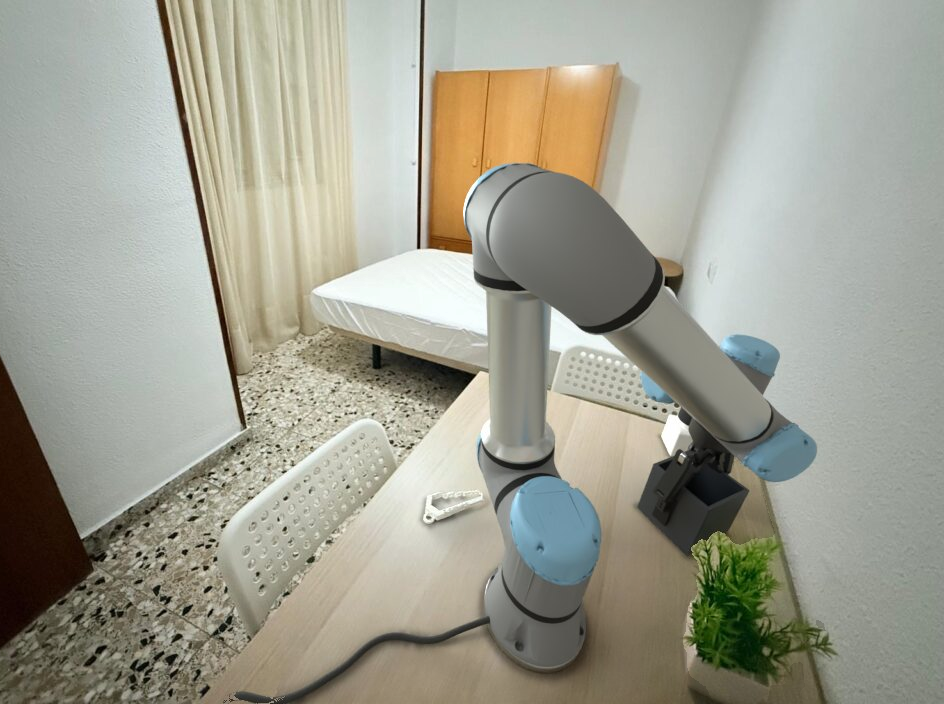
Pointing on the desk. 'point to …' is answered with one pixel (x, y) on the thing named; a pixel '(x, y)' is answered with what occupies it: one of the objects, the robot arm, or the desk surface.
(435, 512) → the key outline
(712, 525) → the dark grey cube box
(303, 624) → the desk surface
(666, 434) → the medicine bottle
